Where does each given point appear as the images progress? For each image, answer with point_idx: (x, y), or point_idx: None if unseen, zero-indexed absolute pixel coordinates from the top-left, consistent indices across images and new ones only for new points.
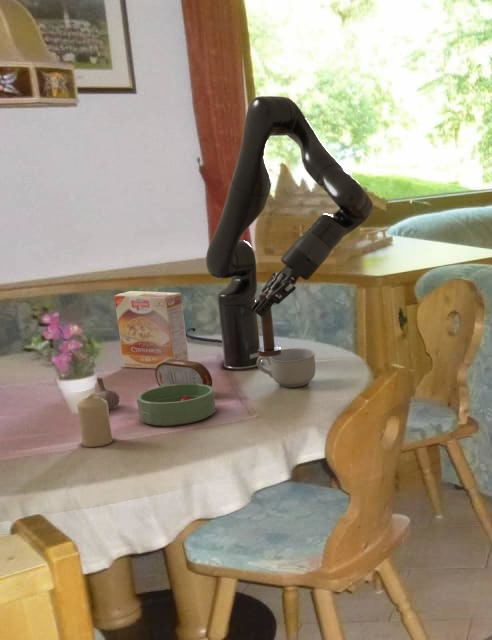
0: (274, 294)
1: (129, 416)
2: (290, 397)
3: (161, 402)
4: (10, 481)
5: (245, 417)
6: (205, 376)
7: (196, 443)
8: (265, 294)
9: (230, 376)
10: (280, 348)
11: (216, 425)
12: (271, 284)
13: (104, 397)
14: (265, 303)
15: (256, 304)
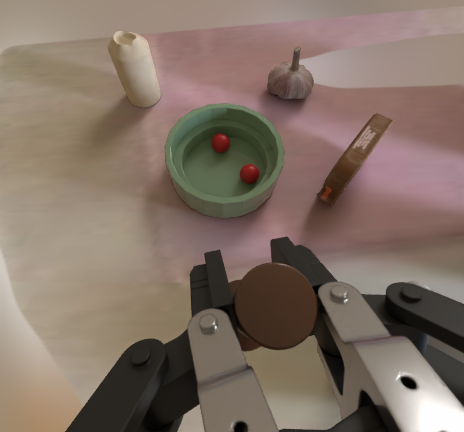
0: (95, 401)
1: None
2: None
3: (256, 142)
4: (51, 42)
5: (179, 264)
6: (328, 188)
7: (76, 197)
8: (260, 312)
9: (450, 238)
10: None
11: (154, 221)
12: (370, 388)
13: (276, 76)
14: (192, 309)
15: (282, 257)
